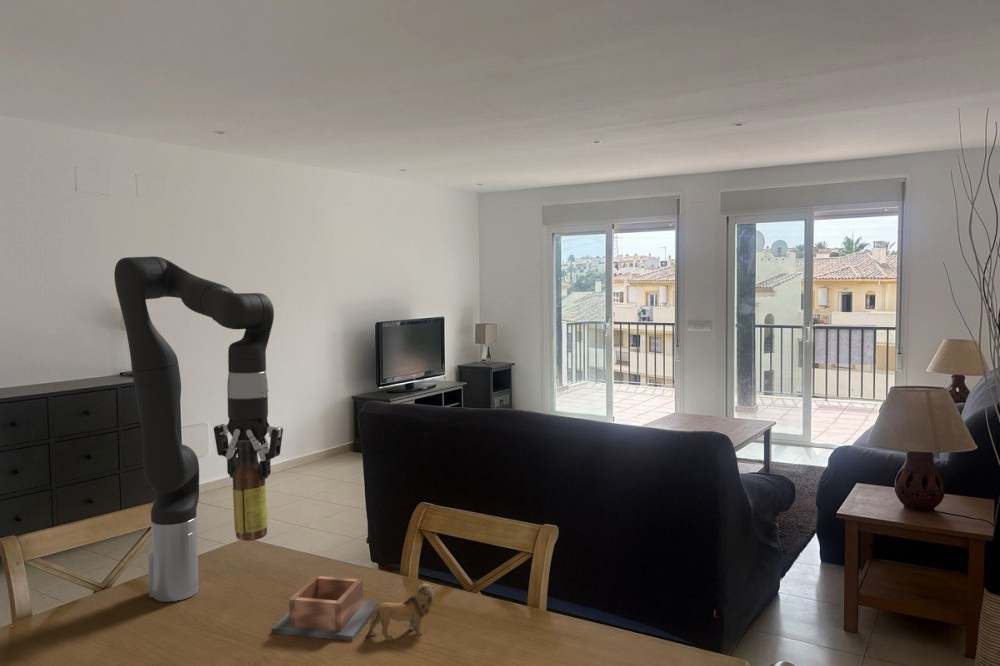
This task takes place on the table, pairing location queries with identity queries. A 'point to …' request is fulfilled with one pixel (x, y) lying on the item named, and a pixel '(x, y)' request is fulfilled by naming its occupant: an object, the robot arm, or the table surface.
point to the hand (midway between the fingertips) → (249, 477)
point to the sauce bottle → (249, 495)
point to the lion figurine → (404, 611)
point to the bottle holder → (327, 609)
